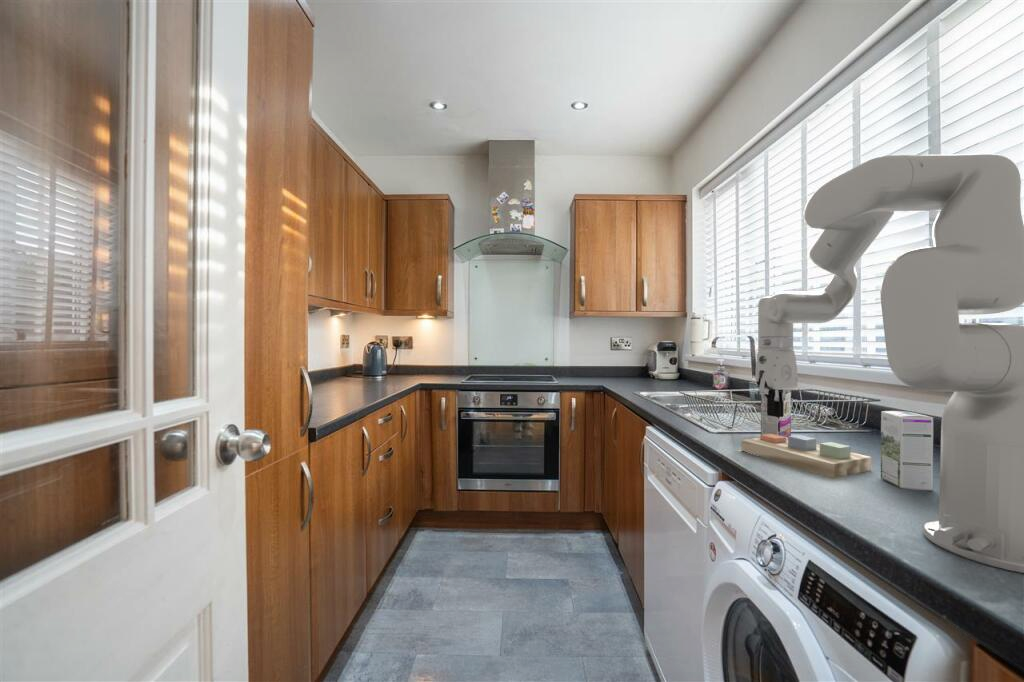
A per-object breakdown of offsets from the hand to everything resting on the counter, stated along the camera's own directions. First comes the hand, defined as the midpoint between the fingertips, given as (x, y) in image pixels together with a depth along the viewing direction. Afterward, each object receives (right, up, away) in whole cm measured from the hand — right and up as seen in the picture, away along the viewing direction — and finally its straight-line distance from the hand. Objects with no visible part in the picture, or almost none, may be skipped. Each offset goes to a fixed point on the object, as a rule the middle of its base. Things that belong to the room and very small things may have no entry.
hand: (775, 416), depth 102 cm
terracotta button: (0, -8, +1) cm, 8 cm away
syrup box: (+12, -10, -21) cm, 27 cm away
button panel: (+3, -10, -6) cm, 11 cm away
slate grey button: (+3, -7, -6) cm, 9 cm away
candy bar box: (+9, -10, +13) cm, 19 cm away
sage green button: (+5, -7, -12) cm, 15 cm away
